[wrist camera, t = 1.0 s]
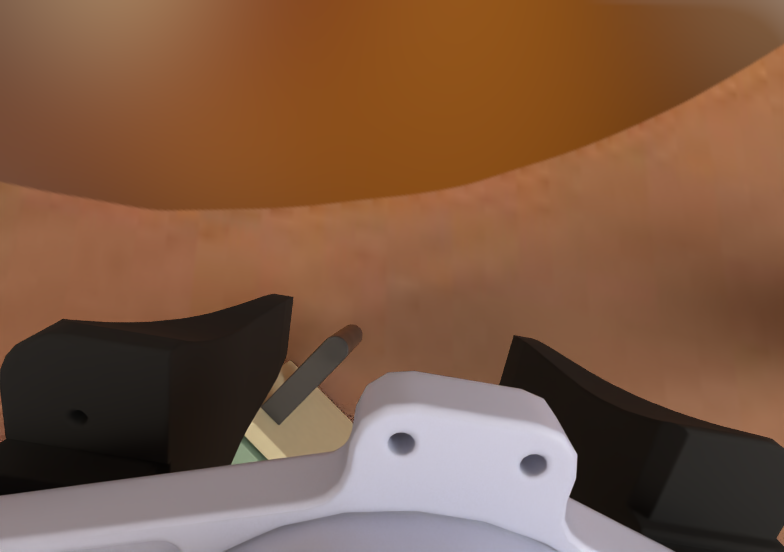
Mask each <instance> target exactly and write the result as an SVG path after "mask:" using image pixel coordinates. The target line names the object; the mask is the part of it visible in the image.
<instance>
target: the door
mask: <svg viewBox="0 0 784 552" xmlns="http://www.w3.org/2000/svg"><path fill="white" fill-rule="evenodd" d="M361 340H362V331H361V329H360V328H359V327H358V326H356V325H347V326H346V327H344V328H343V329H341V330H340V331H338V332H337V333H335V334H334V335H332V336H330V337H329V338H327V339H326V340H325V341H324V342H323V343H322V344H321V345H320V346H319V347H318V348H317V349H316V351H315V352H314V353H313V354H312V355H311V356H310V357H309V358H308V359H307V360H306V361H305V362H304V363H303V364H302V365H301V366H300V367H299V368H298V367H297V366H296V365H295V364H294V363H293V362H292V361H291V360H290V361H288V362H287V363H285V364H283V365H282V368H281V370H280V373H279V375H278V378H277V380H276V381H275V383H274V385H273V387H272V388H271V390H270V392H269V394H268V395H267V397H266V399H265V400H264V402H263V404H262V405H261V407H260V409H259V411H258V412H257V414H256V416H255V417H254V419H253V421H252V422H251V424H250V426H249V427H248V429H247V431H246V433H245V435H244V436H245V437H246V438H247V439H248V440H249V441H250V442H251V443H252V444H253V445H254V446H255V447H256V448H257V449H258V450H259V451H260V452H261V453H262V454H263V455H264V456H265V457H266V458H267V459H268V460H271V459H279V458H286V457H294V456H301V455H309V454H316V453H324V452H331V451H335V450H337V449H339V448H340V447H342V446H343V445H344V444H345V443H346V442H347V440H348V439H349V437H350V434H351V431H352V427H353V423H352V422H351V421H350V420H349V419H348V418H347V417H346V416H345V415H344V414H343V413H342V412H341V411H340V410H339V409H338V408H337V407H336V406H335V405H334V404H333V403H332V401H331V400H330V399H329V398H328V397H327V396H326V395H325V394H324V393H323V392H322V391H321V390H320V389H319V388H318V387H317V386H318V385H319V384H320V383H321V382H322V381H323V380H324V379H325V378H326V377H327V376H328V375H329V374H330V373H331V372H332V371H333V370H334V369H335V368H336V367H337V366H338V365H339V364H340V363H341V362H342V361H343V360H344V359H345V358H346V357H347V356H348V355H349V353H350V352H351V351H352V350H353V349H354V348H355V347H356V346H357V345H358V344H359V342H360V341H361Z"/></svg>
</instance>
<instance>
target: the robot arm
mask: <svg viewBox="0 0 784 552" xmlns="http://www.w3.org/2000/svg"><path fill="white" fill-rule="evenodd" d="M292 305H293V297H290V296H284V295H278V294H270V295H266V296H263V297H260V298H257V299H254V300H251V301H249V302H246V303H243V304H240V305H237V306H234V307H230V308H227V309H223V310H220V311H216V312H213V313H209V314H204V315H200V316H194V317H189V318H183V319H174V320H164V321H154V322H95V321H80V320H67V319H62V320H60V321H58V322H57V323H55V324H53V325H51V326H49V327H47V328H46V329H44V330H42V331H40V332H38V333H36V334H35V335H33V336H31V337H29V338H27V339H25V340H23V341H22V342H20V343H18V344H16V345H15V346H14V347H13V348H12V350H11V351H10V352H9V353H8V354H7V355H6V357H5V359H4V362H3V364H2V367H1V369H0V392H1V401H2V409H3V418H4V427H5V435H6V438H7V439H5V440H4V441H3V442H1V443H0V552H784V546H783V545H782V544H781V543H780V542H779V541H778V540H777V539H776V538H777V536H778V534H779V533H780V531H781V529H782V528H783V526H784V448H783V447H782V446H780V445H779V444H778V443H777V442H775V441H774V440H773V439H770V438H767V437H763V436H759V435H755V434H751V433H747V432H743V431H739V430H735V429H731V428H727V427H723V426H719V425H716V424H712V423H709V422H706V421H703V420H700V419H696V418H693V417H690V416H687V415H684V414H681V413H678V412H675V411H673V410H670V409H667V408H665V407H662V406H660V405H657V404H654V403H652V402H649V401H647V400H645V399H642V398H640V397H638V396H635V395H633V394H631V393H629V392H627V391H625V390H623V389H621V388H619V387H616V386H615V385H613V384H611V383H609V382H607V381H605V380H603V379H601V378H600V377H598V376H596V375H594V374H593V373H591V372H589V371H587V370H586V369H584V368H582V367H581V366H579V365H578V364H576V363H574V362H573V361H571V360H569V359H568V358H566V357H565V356H563V355H562V354H560V353H558V352H557V351H555V350H554V349H552V348H550V347H549V346H547V345H545V344H543V343H541V342H540V341H537V340H535V339H532V338H526V337H521V336H515V335H514V336H513V340H512V343H511V347H510V350H509V353H508V357H507V360H506V364H505V367H504V371H503V374H502V377H501V381H500V384H499V385H495V384H489V383H483V382H477V381H471V380H465V379H459V378H453V377H448V376H442V375H436V374H430V373H424V372H418V371H403V372H388V373H386V374H385V375H383V376H381V377H380V378H378V379H376V380H375V381H373V382H371V383H370V384H368V385H367V386H366V388H365V390H364V392H363V394H362V395H361V397H360V399H359V401H358V403H357V405H356V410H355V416H354V422H353V427H352V431H351V434H350V437H349V439H348V440H347V442H346V443H345V444H344V445H343V446H342V447H340V448H339V449H337V450H335V451H331V452H324V453H316V454H309V455H301V456H294V457H286V458H279V459H271V460H264V461H256V462H249V463H241V464H234V465H231V463H232V461H233V459H234V457H235V454H236V452H237V450H238V448H239V445H240V443H241V441H242V439H243V437H244V435H245V433H246V431H247V429H248V427H249V426H250V424H251V422H252V421H253V419H254V417H255V416H256V414H257V412H258V411H259V409H260V407H261V405H262V404H263V402H264V400H265V399H266V397H267V395H268V394H269V392H270V390H271V388H272V387H273V385H274V383H275V381H276V380H277V378H278V375H279V373H280V370H281V368H282V365H283V363H284V360H285V358H286V355H287V348H288V340H289V331H290V322H291V314H292Z"/></svg>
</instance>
